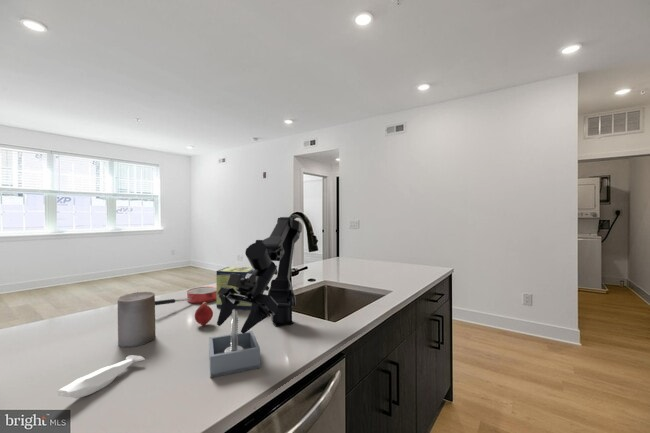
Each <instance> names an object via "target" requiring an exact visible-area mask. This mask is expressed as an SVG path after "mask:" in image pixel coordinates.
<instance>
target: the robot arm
mask: <svg viewBox="0 0 650 433" xmlns="http://www.w3.org/2000/svg"><path fill="white" fill-rule="evenodd" d="M302 230H303V225H302V222H300V221H299V220H296V219H294V218H293V217H291V216H280V217H277V223H276V225H275V226H274V228H273V229H272V231H271V233H270V235H269V236H268V237H266V238H264V239H256V240H255V242H254V243H251V244H249V245H248V246H247V248H246V249H245V256H246V258H247V260H248V262H249V264H250V266H251V267H252V268H254V271H253V273H252V274H249V273H248V274H247V275H246V276H244V275H239V274H233V273H231V275H230V277H229V280H228V283H227V285H229V286H230V285H231V286H234V287H237V288H236V290H237V291H239V292H240V294H238V293H237V292H236V291H235V290H234V289H233V288H230V287H221V289H220V290H219V291H218V293H217V294H218V295H219V298H220V299H221V302H222V305H221V308H220V310H219V314H218V319H217V322H216V326H218V327H221V326H222V325H223V324H224V323H225V321H226V320H228V318H230V316H232V310H234V309H236V308H237V307H236V305H238V304H239V303H240V302H244V303H249V304H252V307H251V310H250V312H249V314H248V316H247V317H246V320H245V322H244V324H243V326H242V327H241V330H240V333H243V334H244V333H245V332H249V331H250V329H252V328H253V327H255V326H257V325H258V324H259V323H260V322H261V321H263V320H265V319H267V318H270V317H271V322H272V323H273V325H274V326H275V327H281V326H288V325H293V324H294V321H293V308H294V307H296V306H297V298H296V294H295V292H294V290H293V289H294V287H293V284H292V282H291V280H290V279H291V272H292V264H293V259H294V251H295V250H294V249H295V243H297V241H298V240H299V239H300V236H301V233H302V232H303V231H302ZM275 262H278V263H279V264H278V266H277V265H276V264H275ZM274 275H277V276H276V277H275V278H274V279H273V277H274ZM269 284H270V286H269ZM265 291H266V292H267V294H266V293H265ZM264 293H265V294H264ZM236 310H237V309H236Z"/></svg>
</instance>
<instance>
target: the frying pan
mask: <svg viewBox="0 0 650 433" xmlns="http://www.w3.org/2000/svg"><path fill="white" fill-rule="evenodd" d="M186 301H187V302H188V303H189V304H194V305H195V304H203V303H204V302H206V304H207V303H212V302H214V301H217V286H199V287H193V288H190V289H188V290H187V291H186V297H184V298H178V299H177V298H176V299H175V298H170V299H169V298H168V299H163V300H162V299H161V300H155V306H159V305H160V306H161V305H168V304H175V303H179V302H180V303H182V302H186Z"/></svg>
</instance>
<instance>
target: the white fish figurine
mask: <svg viewBox="0 0 650 433" xmlns="http://www.w3.org/2000/svg"><path fill="white" fill-rule="evenodd" d="M145 360H146V358H144V357H143V356H142V355H133V354H129V355H127V356H126V357H125V360H121V361H120V362H117V363H114V364H112V365H108V366H104V367H101V368H99V369H97V370H95V371H93V372H91V373H89V374H86V375H84V376H81V377H78V378H77V379H75V380H74V381H72V382H71V383H69V384H67V385H65V386H63V387H61V388H60V389H58V390H56V393H57V395H58V396H59V397H65V398H71V399H72V398H73V399H80V398H83V397H86V396H89V395H91V394H94V393H96V392H97V391H100V390H101V389H103V388H105V387H107V386H108V385H110V384H111V383H113V381H115V379H116V378H117V377H118V376H119V374H121V373H122V372H123V371H124V370H126V369H127V368H128V367H129V366H131V365H132V364H133V363H136V362H140V361H145Z"/></svg>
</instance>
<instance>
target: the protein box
mask: <svg viewBox="0 0 650 433" xmlns="http://www.w3.org/2000/svg"><path fill="white" fill-rule="evenodd" d="M253 271H254V268H252V266H251V267H249V266H248V267H247V266H244V267H243V266H242V267H241V266H226V267H224V268H221V269H218V270H216V288H217V293H218V291H219V290H220V289H221V287H230V288H233V289H234V290H235V291H236V292H237V293H238V294H240V292H239V291H237V290H236V288H237V287H234V286H231V285H230V286H229V285H227V283H228V280H229V277H230V275H231V273H233V274H239V275H244V276H246V275H247V274H248V273H249V274H252V273H253ZM221 305H222V302H221V299H220V298H219V295H218V294H217V299H216V309H221ZM236 307H237V308H236V310H247V311H248V310H250V311H251V307H252V304H249V303H244V302H240V303H239V304H238V305H236Z"/></svg>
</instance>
